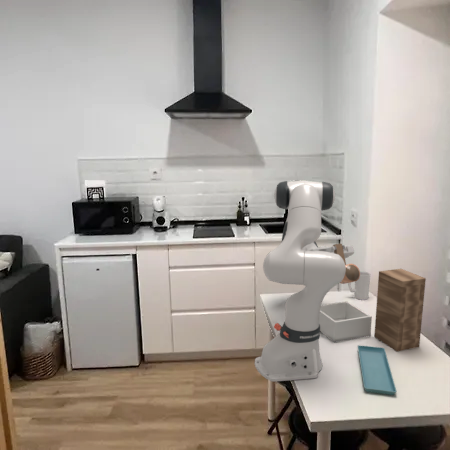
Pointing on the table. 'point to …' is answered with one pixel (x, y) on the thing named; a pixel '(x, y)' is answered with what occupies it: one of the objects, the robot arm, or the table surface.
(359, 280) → the mug
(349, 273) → the pot
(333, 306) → the bin
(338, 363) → the table surface
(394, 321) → the wooden block
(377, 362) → the teal serving tray
